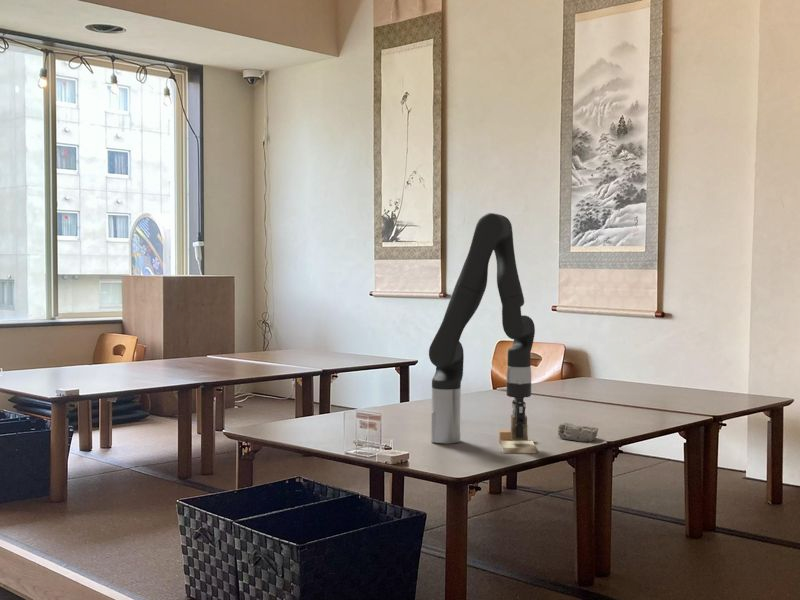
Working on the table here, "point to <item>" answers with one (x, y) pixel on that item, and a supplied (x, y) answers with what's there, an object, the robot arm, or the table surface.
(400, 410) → the table surface
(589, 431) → the stone
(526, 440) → the grey-green square block
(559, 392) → the table surface
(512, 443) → the board
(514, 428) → the walnut block
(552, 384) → the table surface
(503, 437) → the ochre cube
